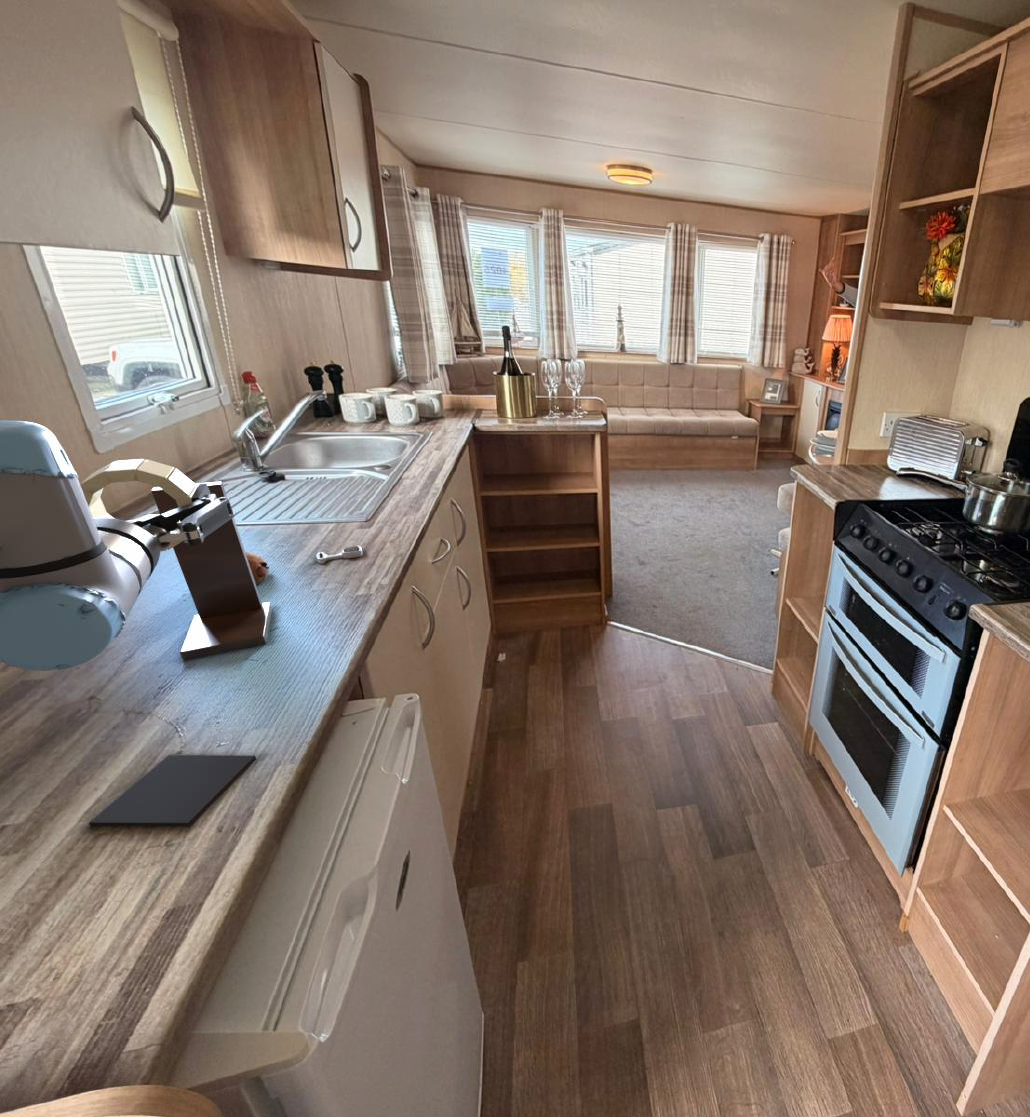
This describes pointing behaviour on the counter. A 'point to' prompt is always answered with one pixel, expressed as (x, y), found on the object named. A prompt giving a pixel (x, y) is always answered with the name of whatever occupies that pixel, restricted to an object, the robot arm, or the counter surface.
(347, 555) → the metal bottle opener
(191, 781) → the mat
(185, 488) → the tape roll
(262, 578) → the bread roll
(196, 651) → the stand
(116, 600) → the robot arm
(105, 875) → the counter surface
